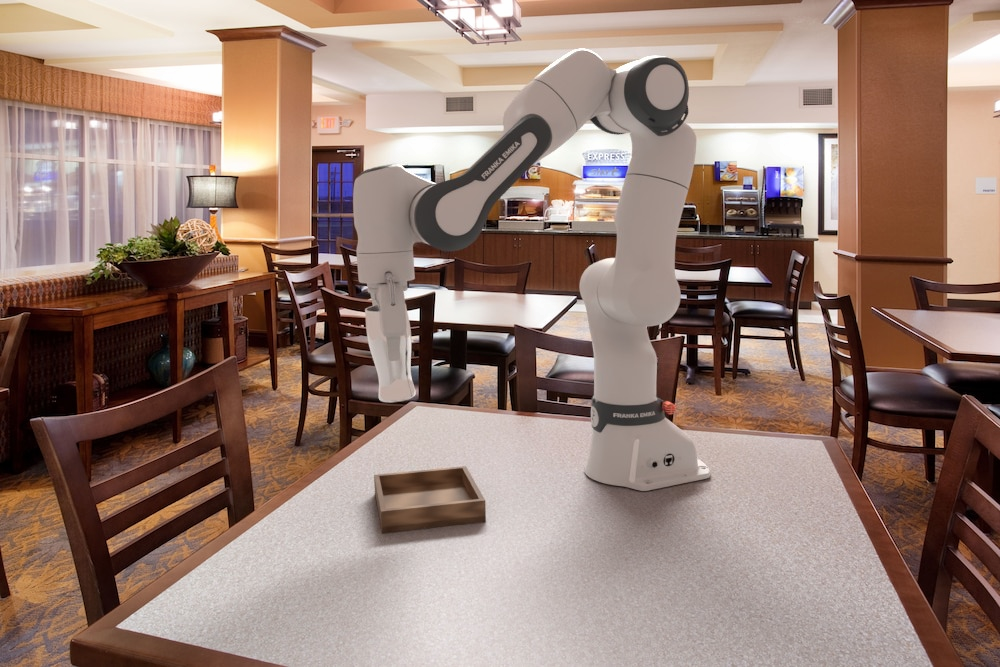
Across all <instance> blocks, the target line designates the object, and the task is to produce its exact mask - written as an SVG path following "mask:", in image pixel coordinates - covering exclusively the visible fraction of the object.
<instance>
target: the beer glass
mask: <svg viewBox="0 0 1000 667" xmlns="http://www.w3.org/2000/svg"><path fill="white" fill-rule="evenodd" d="M391 305H392V304H391ZM394 305H395V304H394ZM394 305H393V306H394ZM405 309H406V321H407V333H406V335H404V336H400V359H399V360H398V361H390V360H389V358H388V348H387V341H386V337H384V336H383V334H382V331H381V329H380V321H379V311H377V305H374V306H373V305H371V306H368V307H366V308H364V313H365V314H364V315H365V328H366V329H365V330H366V336H367V343H368V347H369V350H370V354H371V357H372V361H373V363H374V366H375V369H376V373H377V378H378V399H379V401H380V402H382V403H399V402H405V401H408V400H410V399H412V398H414V397H416V392H417V391H416V389H415V385H414V381H413V378H412V372H411V371H412V370H411V368H412V366H411V363H412V362H411V361H412V360H411V359H412V330H411V323H410V319H409V313H408V309H407V303H405Z"/></svg>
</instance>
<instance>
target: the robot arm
mask: <svg viewBox="0 0 1000 667" xmlns="http://www.w3.org/2000/svg"><path fill="white" fill-rule="evenodd" d="M689 91H690V88H689V80H688V77H687V74H686V72H685V70H684V68H683V66H682V65H681V64H680V63H679V62H678V61H676V60H675V59H674V58H671V57H667V56H663V55H662V56H661V55H651V56H646V57H643V58H641V59H639V60H634V61H632V62H628V63H626V64H624V65H623V64H622V65H621V66H619V67H618V68H616V69H612V68H610V67H609V66H608V65H607V63H606V62H605V61H604V59H603V58H602V57H601V56H599V55H598V54H597V53H595V52H594V51H592V50H590V49H586V48H578V49H573V50H571V51H570V52H568V53H565V55H562V57H560V58H558V59H557V60H556V61H554V62H552V63H551V64H550V65H548V66H547V67H546V68H545V69H543V70H541V71H540V73H538V74H537V75H536V76H535V77H533V79H531V80H530V81H529V82H528V83H527V84H526V85H525V86H524V87H523V88H522V89H521V90H520V91H519V92H518V94H516V96H515V97H514V99H512V101H511V102H510V104H509V105H508V106H507V108H506V109H505V110H504V113H503V117H502V118H503V119H502V125H503V130H502V132H501V133H500V134H501V135H499V137H498V139H497V140H496V141H495V142H494V143H493V144H492V145H491V146H490V147H489V148H488V149H487V150H486V151H485V152H484V153H483V154H482V155H481V156H480V157H479V158H478V159H476V161H475V162H473V164H472V165H471V166H470V167H469V168H467V169H466V171H464V172H463V173H461V174H460V175H458V176H456V177H455V178H451V179H448V180H445V181H442V182H441V181H440V182H438V183H436V182H433V181H431V180H428V179H426V178H423V177H421V176H418V175H417V174H415V173H413V172H412V171H409V170H408V169H406V168H405V167H404V166H403V165H402V164H398V163H390V164H384V165H379V166H375V167H374V166H373V167H371V168H368V169H364V170H363V171H361V172H360V174H358V175H357V177H356V178H355V180H354V184H353V189H352V190H353V191H352V192H353V194H352V195H353V196H352V198H353V199H352V205H353V206H352V210H353V224H354V228H355V231H356V235H357V245H356V253H355V254H356V262H357V275H358V278H357V279H358V282H359V283H361V284H366V286H367V292H368V294H370V299H371V303H372V305H371V306H374V305H377V311H379V321H380V329H381V331H382V334H383V336H384V337H386V341H387V348H388V358H389V360H390V361H398V360H399V359H400V336H404V335H406V333H407V321H406V309H405V304H406V300H405V293H404V292H407V291H408V282H410V281H413V280H415V279H416V277H415V274H416V273H415V263H414V261H415V260H414V244H415V243H421V242H422V243H423V244H427V245H429V246H431V247H433V248H434V249H437V250H439V251H444V252H456V251H460V250H463V249H465V248H467V247H469V246H470V245H471V244H473V243H474V242H475V241H476V240H477V239H478V237H479V236H480V235H481V232H482V231H483V229H484V227H485V224H486V222H487V219H488V216H489V215H490V212H491V211H492V209H493V207H494V206H495V204H496V203H498V201H499V199H500V198H502V197H503V195H504V194H505V193H506V192H507V191H509V190H510V188H511V187H512V186H513V185H514V184H515V183H516V182H517V181H518V180H519V179H520V178H521V177H522V176H523V175H524V174H525V173H526V172H527V171H528V170H529V169H530V168H531V167H532V166H533V165H534V164H536V163H538V162H540V161H541V160H543V159H544V158H545V157H547V156H549V155H551V154H552V153H553V152H555V151H556V150H557V149H559V148H561V147H562V146H563V145H564V144H565V143H566V142H568V140H570V139H571V138H572V137H574V135H575V134H576V133H577V132H578V131H579V130H580V129H582V127H583V126H584V125H585V124H586V123H588V122H589V121H590V122H591V123H592V124H593V125H594V126H595V127H596V128H597V129H599V130H601V131H602V132H604V133H608V134H611V135H616V136H617V135H624V134H628V133H629V136H630V140H631V158H630V162H629V164H628V168H627V170H626V173H625V178H624V181H623V185H622V188H621V192H620V195H619V198H618V202H617V206H616V210H615V213H614V218H613V221H614V225H615V228H616V250H615V257H609V258H608V257H607V258H605V259H604V258H603V259H601V260H598V261H596V262H594V263H592V264H591V265H588V267H587V268H586V269H585V270H584V271H583V273H581V276H580V280H579V293H580V297H581V299H582V301H583V303H584V306H585V310H586V317H587V322H588V326H589V327H588V328H589V334H590V337H591V338H590V339H591V344H592V351H593V379H594V382H593V396H592V397H591V408H590V422H591V428H592V434H591V442H590V448H589V453H588V457H587V460H586V465H585V466H584V467H585V468H584V473H585V475H586V476H587V477H589V478H590V479H591V480H594V481H596V482H599V483H602V484H605V485H611V486H618V487H625V488H629V489H633V490H636V491H641V492H647V491H651V490H657V489H658V490H659V489H662V488H667V487H672V486H676V485H681V484H686V483H691V482H696V481H701V480H705V479H710V477H711V470H710V467H709V466H708V465H707V464H706V463H705V462H703V461H702V460H701V459H700V458H698V453H697V449H696V444H695V443H694V440H693V439H692V437H691V436H689V434H688V433H686V432H685V431H684V430H683V429H681V428H680V427H678V426H677V425H676V424H674V423H673V422H672V421H671V420H670V419H668V418H667V417H666V415H665V413H666V414H668V415H674V414H675V412H676V411H677V405H676V404H674V403H672V402H671V401H669V400H664V399H661V398H659V397H658V396H657V370H658V365H657V363H658V357H657V352H656V351H655V350H656V349H655V348H654V347H653V345H652V342H651V339H650V336H649V332H648V327H654V326H659V325H662V324H664V323H666V322H668V321H670V319H671V318H672V317H674V315H675V314H676V312H677V310H678V309H679V306H680V304H681V287H680V284H679V281H678V280H677V277H676V265H675V263H676V244H677V243H676V242H677V241H676V240H677V234H678V229H679V226H680V222H681V218H682V214H683V211H684V207H685V205H686V204H685V203H686V199H687V196H688V192H689V189H690V184H691V181H692V177H693V172H694V167H695V159H696V152H697V136H696V133H695V130H694V129H693V128H692V126H690V125H689V124H688V123H686V122H685V121H686V119H687V117H688V116H689V105H688V102H689V97H690V96H689V94H690V93H689ZM391 304H392V305H391ZM394 304H395V305H394ZM393 305H394V306H393Z"/></svg>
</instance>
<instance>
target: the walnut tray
mask: <svg viewBox="0 0 1000 667" xmlns="http://www.w3.org/2000/svg"><path fill="white" fill-rule="evenodd" d="M373 481H374V484H373V485H374V497H375V501H376V502H375V503H376V509H377V512H378V513H377V514H378V518H379V519H378V520H379V523H380V524H379V525H380V529H381V534H389V533H390V532H391V533H398V531H400V532H407V531H406V530H408V531H415V530H414V529H417V530H424V529H434V528H441V527H450V526H460V525H469V524H478V523H486V522H487V521H486V520H487V516H486V515H487V513H486V498H485V497H484V495H483V494H482V492H481V490H480V488H479V487H478V485H477V482H475V480H474V478H473V476H472V475H471V473H470V470H469V469H468V467H467V466H466V465H465V466H453V467H444V468H443V467H442V468H432V469H422V470H411V471H399V472H390V473H381V474H380V473H379V474H374V475H373ZM391 533H390V534H391Z"/></svg>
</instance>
